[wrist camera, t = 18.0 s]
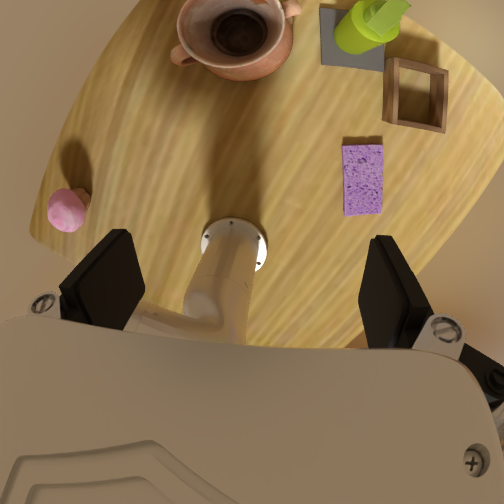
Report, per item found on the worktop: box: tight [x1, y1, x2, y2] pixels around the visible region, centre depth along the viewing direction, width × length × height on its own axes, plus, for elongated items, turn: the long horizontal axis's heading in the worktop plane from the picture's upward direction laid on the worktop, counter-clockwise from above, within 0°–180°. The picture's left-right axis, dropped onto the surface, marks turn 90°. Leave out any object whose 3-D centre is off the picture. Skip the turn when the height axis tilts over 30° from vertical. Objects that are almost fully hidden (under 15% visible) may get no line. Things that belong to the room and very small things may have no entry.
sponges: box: [342, 144, 383, 216], centre depth 46 cm, size 7×13×2 cm, turn 8°
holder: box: [382, 57, 448, 134], centre depth 35 cm, size 11×10×5 cm
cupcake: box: [47, 188, 91, 232], centre depth 49 cm, size 9×9×10 cm
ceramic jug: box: [170, 0, 302, 81], centre depth 30 cm, size 18×14×14 cm
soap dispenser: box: [334, 0, 411, 54], centre depth 25 cm, size 6×7×20 cm
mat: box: [319, 8, 384, 72], centre depth 33 cm, size 10×10×1 cm
